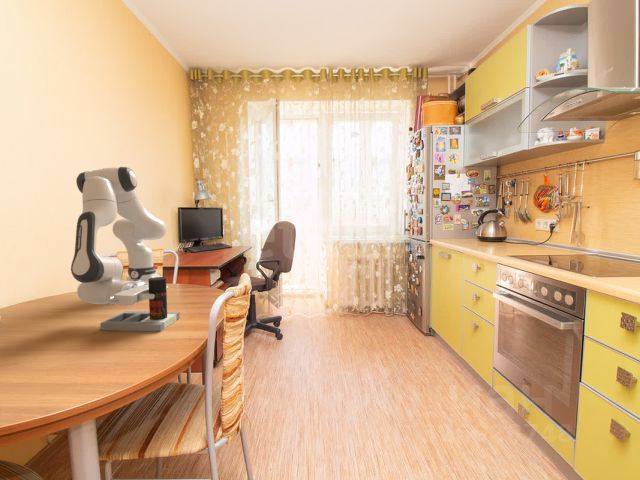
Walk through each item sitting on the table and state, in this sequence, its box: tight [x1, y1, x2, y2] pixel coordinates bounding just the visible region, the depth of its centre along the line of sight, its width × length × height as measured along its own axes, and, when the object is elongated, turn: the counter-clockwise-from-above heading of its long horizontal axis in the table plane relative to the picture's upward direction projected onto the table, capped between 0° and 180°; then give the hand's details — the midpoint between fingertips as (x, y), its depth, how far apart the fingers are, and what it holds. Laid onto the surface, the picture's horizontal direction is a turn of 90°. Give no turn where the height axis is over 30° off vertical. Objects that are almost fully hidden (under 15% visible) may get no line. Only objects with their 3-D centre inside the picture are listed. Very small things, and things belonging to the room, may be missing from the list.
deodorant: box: [148, 276, 168, 320], centre depth 119 cm, size 6×6×15 cm
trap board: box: [99, 310, 180, 332], centre depth 120 cm, size 14×22×2 cm, turn 88°
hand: (160, 293), depth 118 cm, fingers closed on deodorant, 6 cm apart
